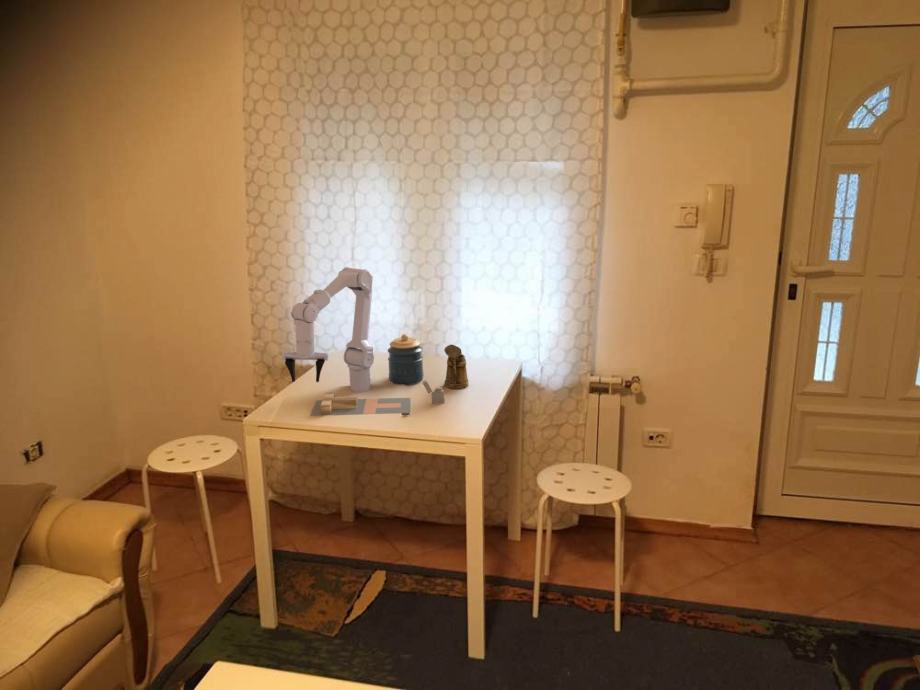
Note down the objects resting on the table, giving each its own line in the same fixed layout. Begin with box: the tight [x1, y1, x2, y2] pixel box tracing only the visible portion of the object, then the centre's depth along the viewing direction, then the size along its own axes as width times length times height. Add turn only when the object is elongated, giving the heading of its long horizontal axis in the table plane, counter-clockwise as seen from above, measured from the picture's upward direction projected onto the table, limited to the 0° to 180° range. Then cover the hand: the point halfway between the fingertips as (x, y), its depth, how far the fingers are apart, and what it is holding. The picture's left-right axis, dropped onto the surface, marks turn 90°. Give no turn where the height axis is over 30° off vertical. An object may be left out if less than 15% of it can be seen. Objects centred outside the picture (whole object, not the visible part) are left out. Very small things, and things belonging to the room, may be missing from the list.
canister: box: [387, 333, 425, 386], centre depth 256 cm, size 13×13×18 cm
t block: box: [321, 392, 358, 414], centre depth 229 cm, size 12×11×3 cm
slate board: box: [309, 397, 411, 417], centre depth 230 cm, size 14×32×1 cm, turn 93°
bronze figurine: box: [444, 344, 469, 390], centre depth 247 cm, size 9×14×18 cm, turn 170°
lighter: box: [422, 380, 445, 405], centre depth 234 cm, size 7×2×8 cm, turn 94°
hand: (305, 381), depth 225 cm, fingers open, 7 cm apart
